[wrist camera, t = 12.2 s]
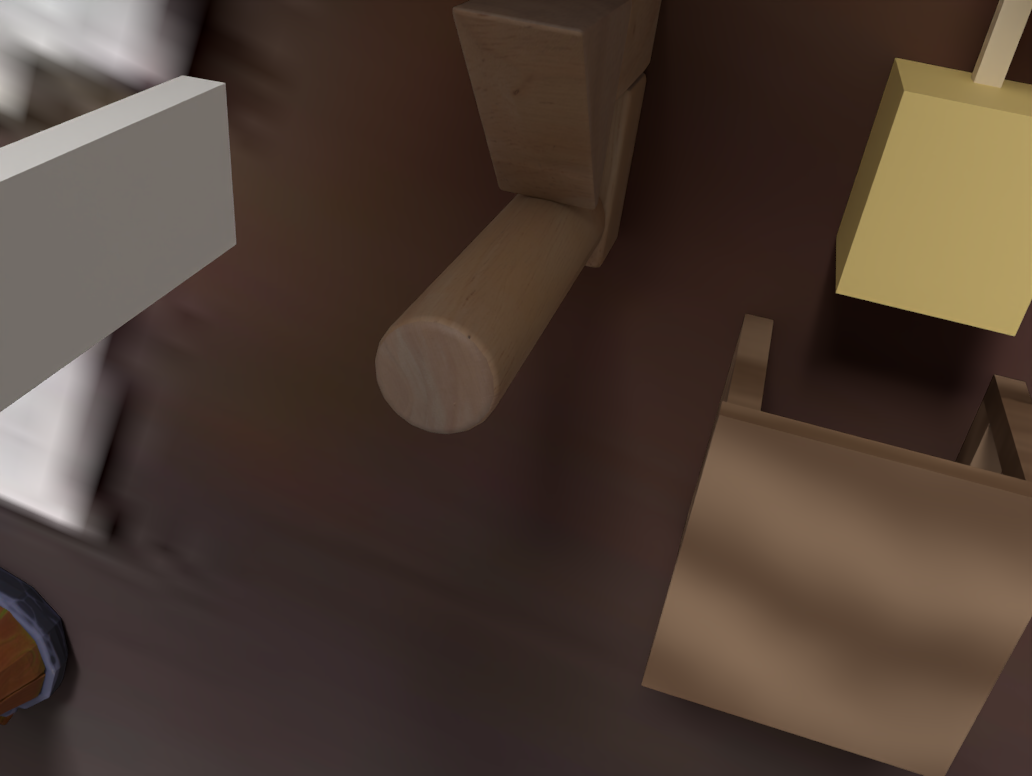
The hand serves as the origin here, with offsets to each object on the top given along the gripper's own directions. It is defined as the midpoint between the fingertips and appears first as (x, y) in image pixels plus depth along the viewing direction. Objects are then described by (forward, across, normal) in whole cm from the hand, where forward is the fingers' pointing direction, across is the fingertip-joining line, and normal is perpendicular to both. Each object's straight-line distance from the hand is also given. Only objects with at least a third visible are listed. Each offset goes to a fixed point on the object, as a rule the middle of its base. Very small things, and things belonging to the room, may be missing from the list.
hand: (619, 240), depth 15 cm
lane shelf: (+25, +8, -19) cm, 32 cm away
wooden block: (+26, -5, -5) cm, 27 cm away
